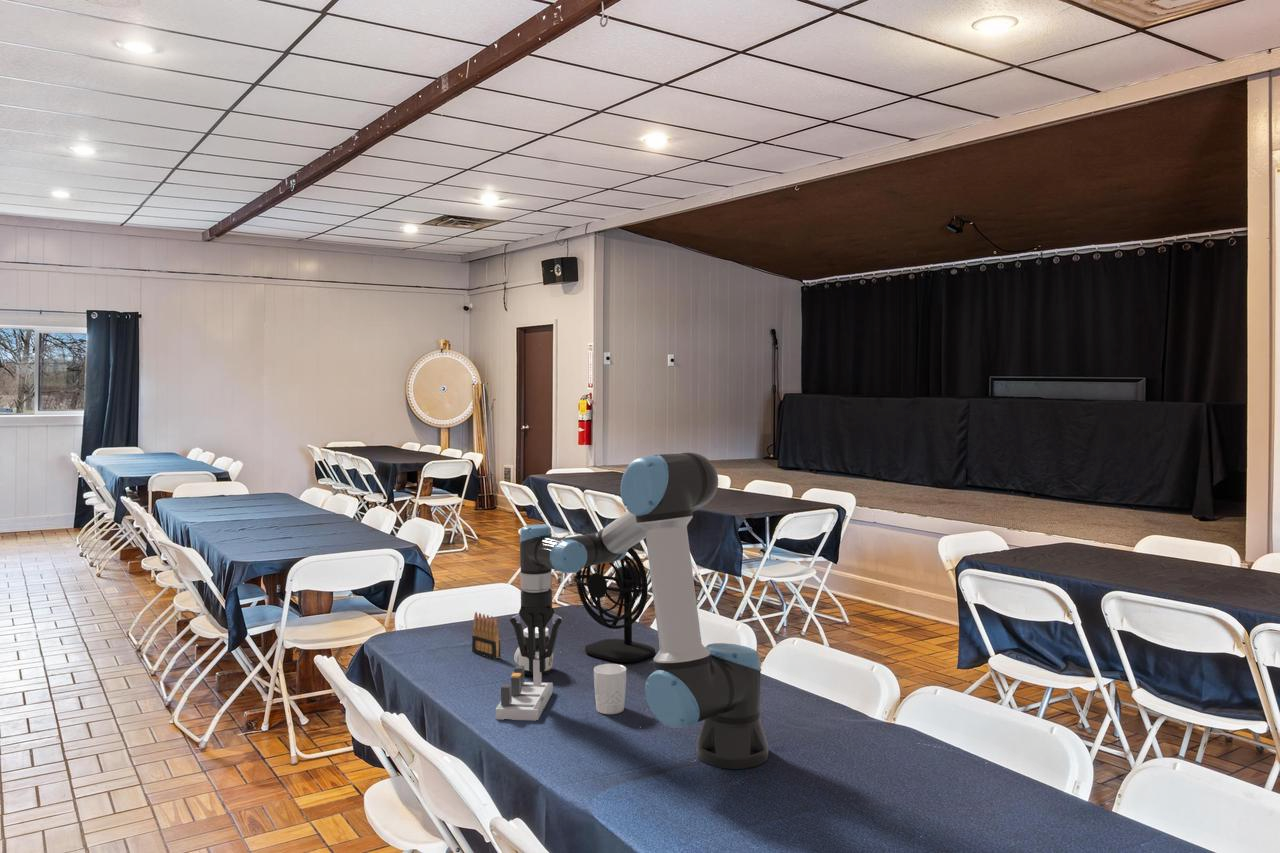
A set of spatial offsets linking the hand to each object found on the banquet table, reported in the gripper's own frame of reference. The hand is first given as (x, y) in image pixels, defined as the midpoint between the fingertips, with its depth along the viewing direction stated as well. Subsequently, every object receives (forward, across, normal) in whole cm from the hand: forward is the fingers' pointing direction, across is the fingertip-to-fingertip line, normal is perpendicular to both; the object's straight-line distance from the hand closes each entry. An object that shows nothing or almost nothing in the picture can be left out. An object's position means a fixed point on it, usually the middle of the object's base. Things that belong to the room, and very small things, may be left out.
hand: (537, 684), depth 220 cm
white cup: (+6, -18, +1) cm, 19 cm away
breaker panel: (+5, +3, 0) cm, 6 cm away
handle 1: (+3, +6, +7) cm, 10 cm away
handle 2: (+2, +6, -7) cm, 10 cm away
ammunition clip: (+5, +23, -39) cm, 46 cm away
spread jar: (+5, +7, -27) cm, 29 cm away
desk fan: (+5, -15, -43) cm, 46 cm away
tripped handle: (+2, +5, 0) cm, 6 cm away
